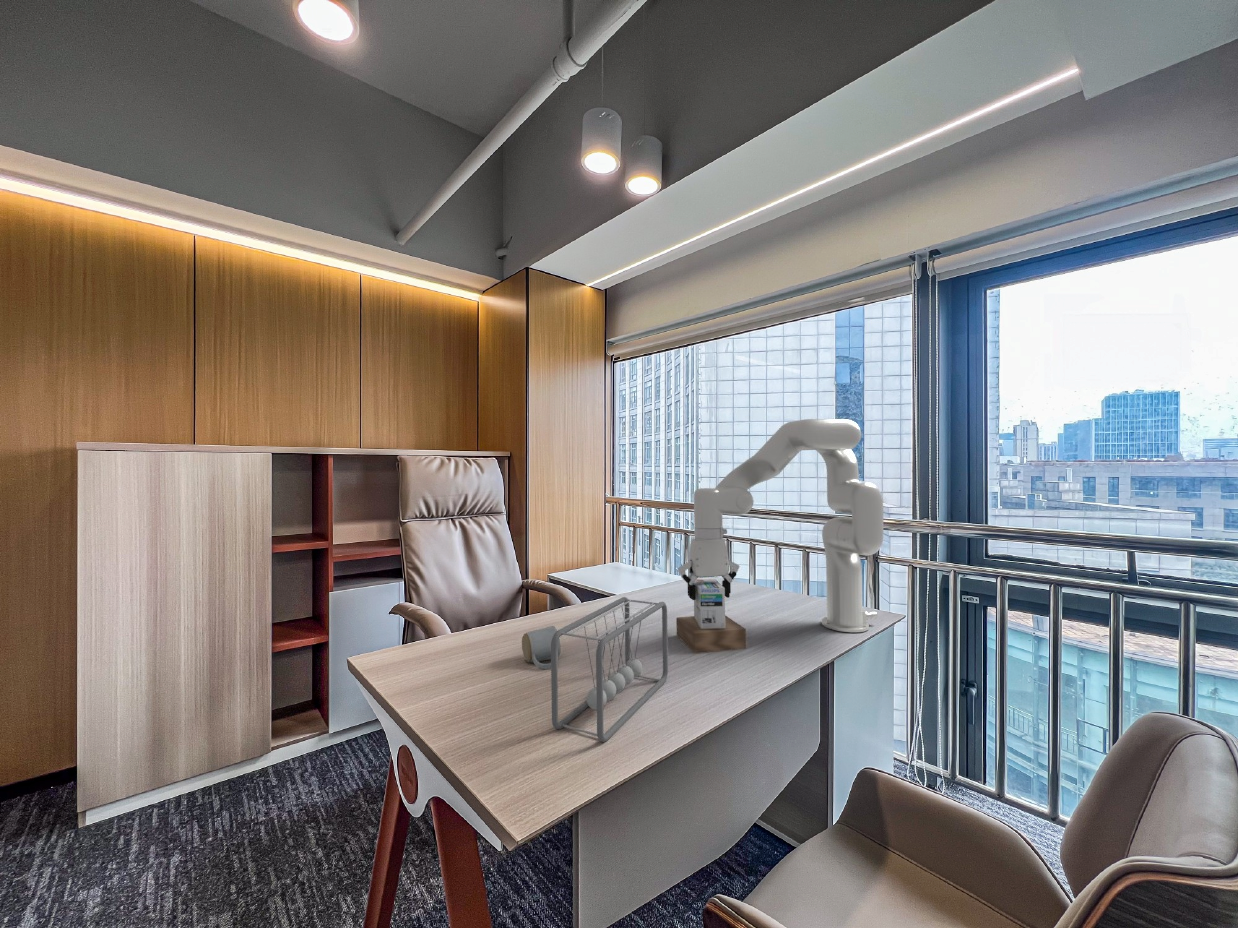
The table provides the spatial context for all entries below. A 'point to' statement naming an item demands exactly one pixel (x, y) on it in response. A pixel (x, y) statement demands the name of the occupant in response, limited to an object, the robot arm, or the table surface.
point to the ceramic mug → (539, 646)
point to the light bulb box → (709, 604)
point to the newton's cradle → (618, 679)
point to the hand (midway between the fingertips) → (709, 597)
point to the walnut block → (710, 635)
